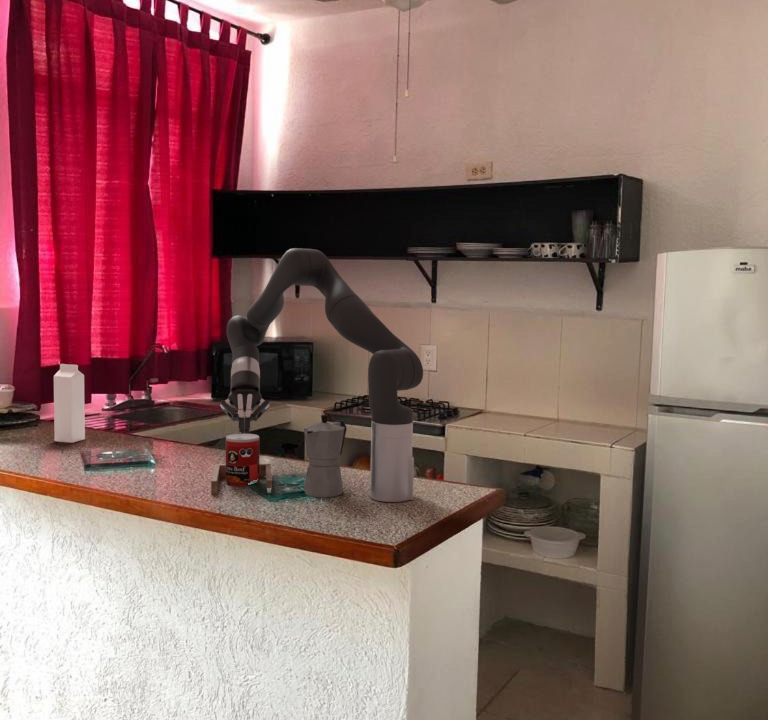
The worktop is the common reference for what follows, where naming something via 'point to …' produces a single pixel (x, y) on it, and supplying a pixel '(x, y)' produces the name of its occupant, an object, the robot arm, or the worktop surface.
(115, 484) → the worktop surface
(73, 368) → the milk
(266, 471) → the walnut u-shaped block
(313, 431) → the coffeepot
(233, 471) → the canned food
